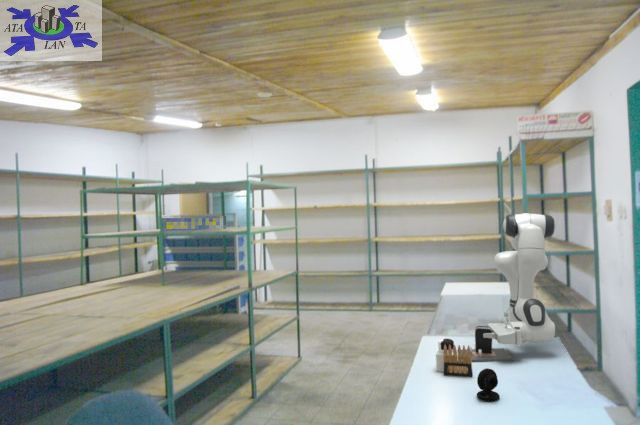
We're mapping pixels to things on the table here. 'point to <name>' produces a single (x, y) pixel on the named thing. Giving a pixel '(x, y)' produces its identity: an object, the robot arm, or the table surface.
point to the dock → (489, 355)
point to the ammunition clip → (457, 362)
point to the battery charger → (483, 339)
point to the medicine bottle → (441, 353)
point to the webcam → (487, 385)
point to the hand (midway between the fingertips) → (481, 333)
